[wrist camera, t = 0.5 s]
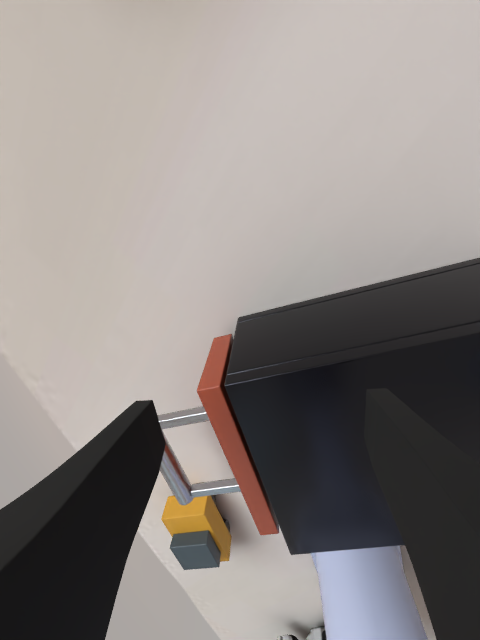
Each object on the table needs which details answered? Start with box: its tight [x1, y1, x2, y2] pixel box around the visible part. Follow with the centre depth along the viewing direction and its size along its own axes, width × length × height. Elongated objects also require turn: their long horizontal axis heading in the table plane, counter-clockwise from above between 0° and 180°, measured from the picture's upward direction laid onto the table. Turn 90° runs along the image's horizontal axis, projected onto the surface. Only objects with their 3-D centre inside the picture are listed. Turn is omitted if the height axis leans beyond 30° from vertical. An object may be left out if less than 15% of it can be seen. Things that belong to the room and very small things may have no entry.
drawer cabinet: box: [224, 258, 480, 555], centre depth 17 cm, size 15×13×7 cm
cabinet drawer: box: [157, 334, 279, 535], centre depth 18 cm, size 19×11×5 cm, turn 107°
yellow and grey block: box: [161, 495, 231, 570], centre depth 26 cm, size 6×4×4 cm, turn 17°
